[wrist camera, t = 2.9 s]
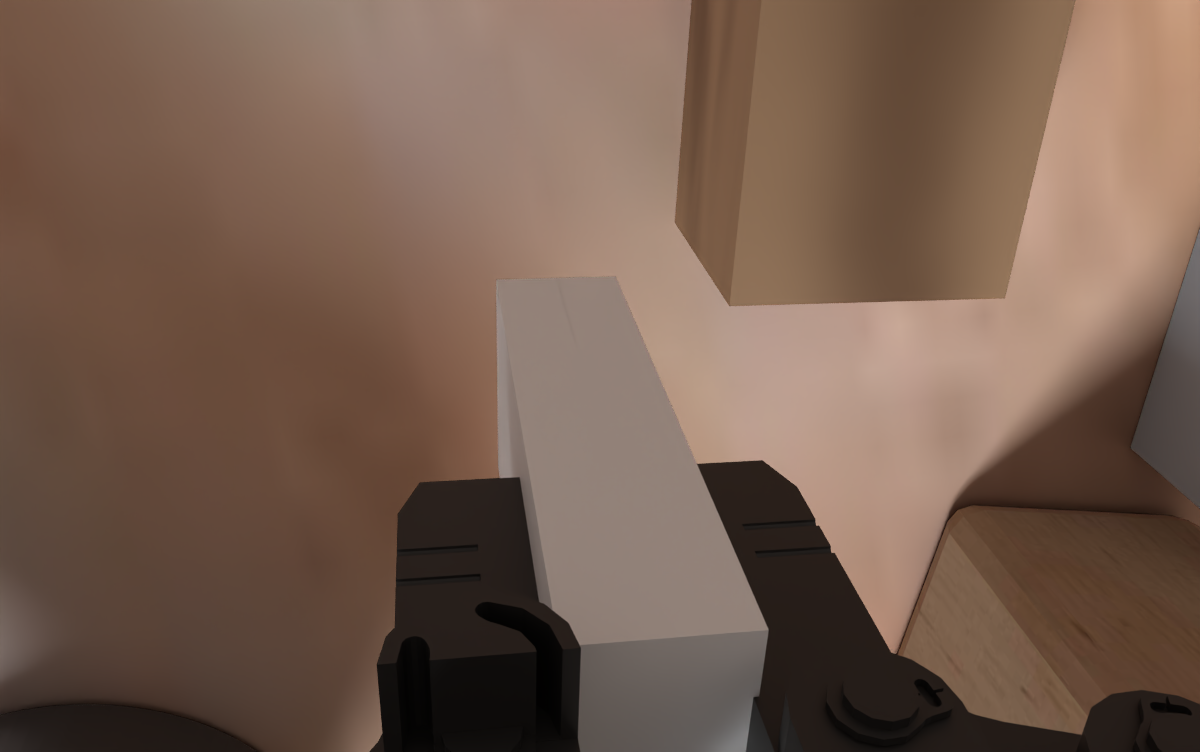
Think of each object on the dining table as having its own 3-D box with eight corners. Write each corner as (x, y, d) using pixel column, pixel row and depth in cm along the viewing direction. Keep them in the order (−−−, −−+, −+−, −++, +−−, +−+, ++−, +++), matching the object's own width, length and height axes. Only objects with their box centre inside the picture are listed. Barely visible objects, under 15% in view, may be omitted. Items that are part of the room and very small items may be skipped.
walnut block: (674, 220, 30) (729, 305, 25) (693, -41, 27) (762, -8, 21) (905, 217, 31) (1005, 298, 26) (950, -35, 28) (1076, -2, 22)
